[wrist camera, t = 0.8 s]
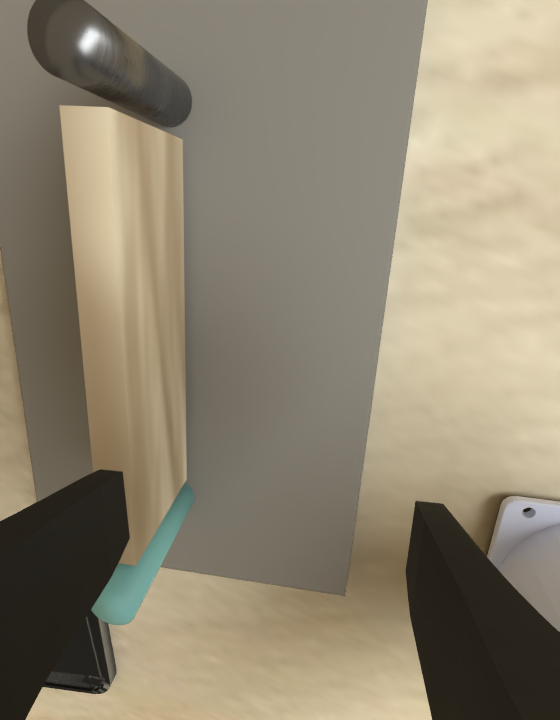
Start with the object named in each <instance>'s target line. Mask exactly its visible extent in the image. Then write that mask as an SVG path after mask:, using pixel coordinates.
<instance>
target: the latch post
mask: <svg viewBox="0 0 560 720" xmlns="http://www.w3.org/2000/svg"><path fill="white" fill-rule="evenodd" d="M193 502H194V493H193V491H192V489H191V488H190V486H189V485H187V484H186V483H184V485H183V486H182V488H181V490H180V491H179V493H178V495H177V497H176V498H175V500H174V502H173V503H172V505H171V507H170V509H169V510H168V512H167V514H166V515H165V517H164V519H163V521H162V522H161V524H160V526H159V527H158V529H157V531H156V533H155V534H154V536H153V538H152V539H151V541H150V543H149V545H148V546H147V548H146V550H145V551H144V553H143V555H142V556H141V558H140V560H139V562H138V563H137V565H136V566H133V565H126V564H120V563H118V565H117V567H116V569H115V571H114V573H113V575H112V577H111V579H110V580H109V582H108V583H107V585H106V587H105V588H104V590H103V591H102V593H101V595H100V596H99V598H98V599H97V601H96V603H95V604H94V606H93V607H92V609H91V610H92V612H93V613H94V614H95V615H96V616H97V617H98V618H99V619H101V620H102V621H104V622H106V623H109V624H113V625H124V624H127V623H129V622H130V621H132V619H133V618H134V616H135V614H136V612H137V611H138V609H139V607H140V605H141V603H142V601H143V599H144V597H145V595H146V593H147V591H148V589H149V587H150V585H151V583H152V581H153V579H154V578H155V576H156V574H157V572H158V570H159V568H160V566H161V564H162V562H163V560H164V558H165V556H166V554H167V552H168V550H169V548H170V547H171V545H172V543H173V541H174V539H175V537H176V535H177V533H178V531H179V529H180V527H181V525H182V523H183V521H184V519H185V517H186V515H187V514H188V512H189V510H190V508H191V506H192V504H193Z"/></svg>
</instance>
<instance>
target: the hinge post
mask: <svg viewBox="0 0 560 720" xmlns="http://www.w3.org/2000/svg"><path fill="white" fill-rule="evenodd" d="M27 35H28V41H29V45H30V48H31V50H32V53H33V55H34V57H35V58H36V60H37V61H38V63H39V64H40V65H41V66H42V67H43V68H44V69H45V70H46V71H47V72H48V73H50V74H52V75H53V76H55V77H58V78H60V79H62V80H64V81H66V82H68V83H71V84H73V85H75V86H77V87H79V88H82V89H84V90H86V91H88V92H90V93H92V94H95V95H97V96H99V97H101V98H103V99H105V100H108V101H110V102H112V103H114V104H116V105H119V106H121V107H123V108H125V109H127V110H129V111H132V112H134V113H136V114H138V115H140V116H142V117H145V118H147V119H149V120H151V121H153V122H156V123H158V124H160V125H162V126H165V127H176V126H179V125H181V124H182V123H183V122H184V121H185V120H186V119H187V118H188V116H189V114H190V112H191V108H192V96H191V92H190V89H189V87H188V85H187V84H186V82H185V81H184V80H183V79H182V78H180V77H179V76H178V75H177V74H175V73H174V72H173V71H172V70H170V69H169V68H168V67H167V66H165V65H164V64H163V63H162V62H160V61H159V60H158V59H157V58H155V57H154V56H153V55H152V54H150V53H149V52H148V51H147V50H146V49H144V48H143V47H142V46H141V45H139V44H138V43H137V42H136V41H134V40H133V39H132V38H131V37H129V36H128V35H127V34H126V33H124V32H123V31H122V30H121V29H119V28H118V27H117V26H116V25H114V24H113V23H112V22H111V21H109V20H108V19H107V18H106V17H104V16H103V15H102V14H101V13H99V12H98V11H97V10H96V9H94V8H93V7H92V6H91V5H90V4H88V3H87V2H86V1H85V0H36V1H35V2H34V4H33V5H32V7H31V10H30V12H29V16H28V22H27Z"/></svg>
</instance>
